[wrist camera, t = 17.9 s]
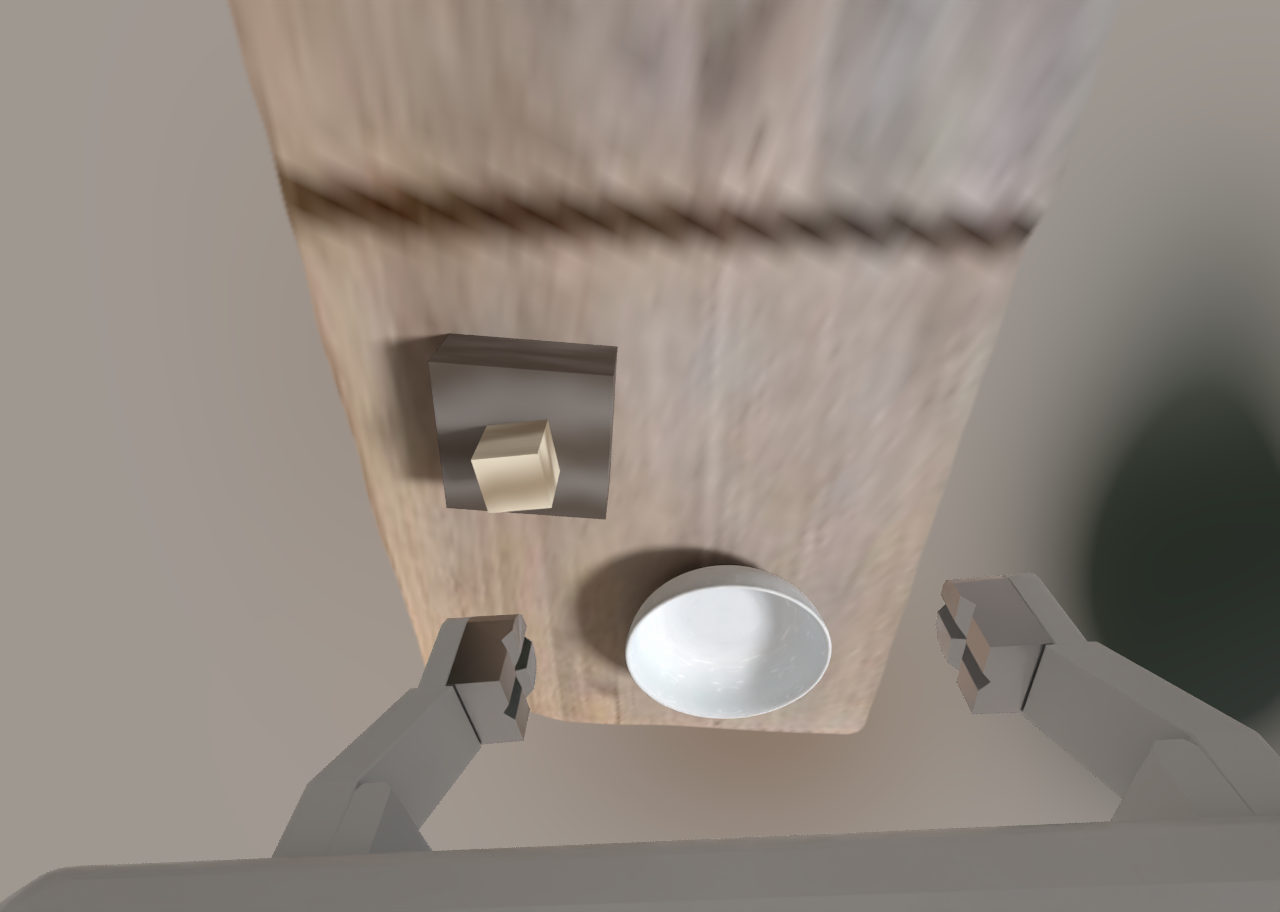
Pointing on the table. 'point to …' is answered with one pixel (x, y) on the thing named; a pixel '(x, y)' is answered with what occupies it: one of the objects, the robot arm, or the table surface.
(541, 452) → the birch cube
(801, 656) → the serving bowl
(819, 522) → the table surface
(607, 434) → the charcoal riser block
